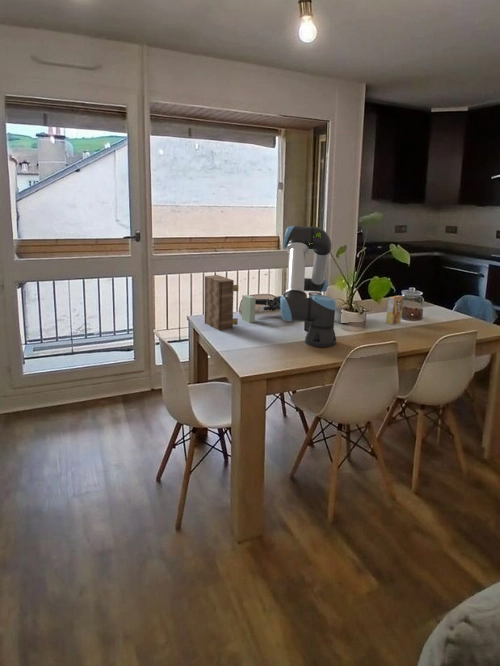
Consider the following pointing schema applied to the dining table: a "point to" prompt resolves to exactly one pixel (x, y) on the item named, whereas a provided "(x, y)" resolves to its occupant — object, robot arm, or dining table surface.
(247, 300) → the pale green tall block
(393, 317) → the candy box
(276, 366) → the dining table surface
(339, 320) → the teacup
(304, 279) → the robot arm
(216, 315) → the cabinet
